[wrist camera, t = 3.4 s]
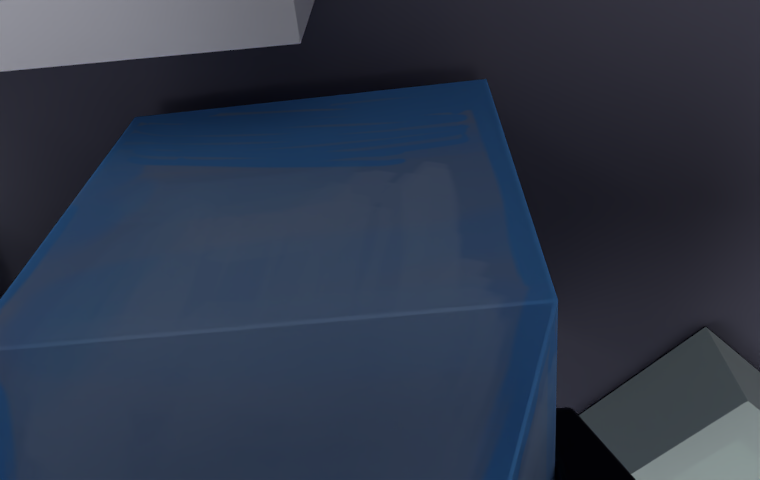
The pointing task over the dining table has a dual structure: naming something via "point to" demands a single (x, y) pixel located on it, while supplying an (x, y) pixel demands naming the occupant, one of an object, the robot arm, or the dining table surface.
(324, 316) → the perfume bottle
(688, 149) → the dining table surface
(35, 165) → the dining table surface
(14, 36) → the bay
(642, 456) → the tray
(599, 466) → the robot arm
